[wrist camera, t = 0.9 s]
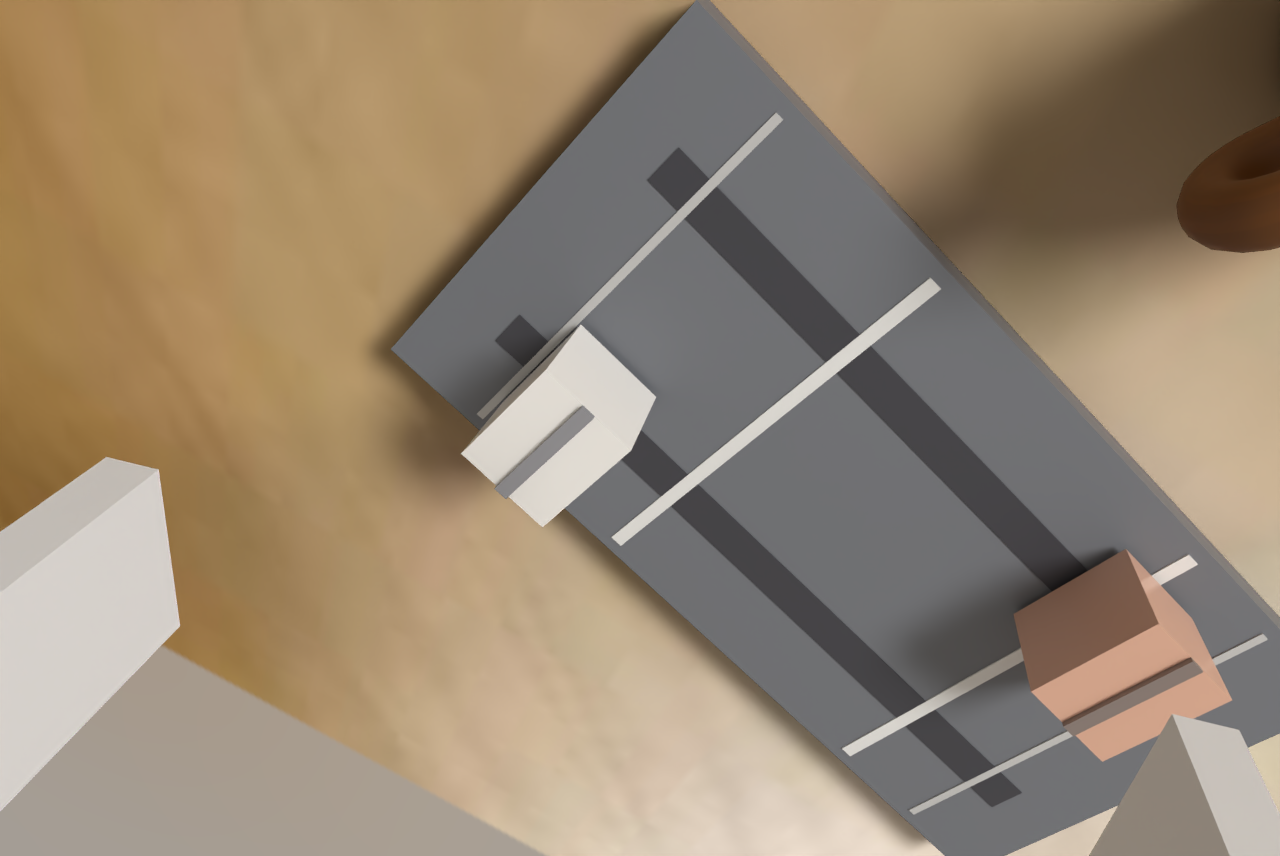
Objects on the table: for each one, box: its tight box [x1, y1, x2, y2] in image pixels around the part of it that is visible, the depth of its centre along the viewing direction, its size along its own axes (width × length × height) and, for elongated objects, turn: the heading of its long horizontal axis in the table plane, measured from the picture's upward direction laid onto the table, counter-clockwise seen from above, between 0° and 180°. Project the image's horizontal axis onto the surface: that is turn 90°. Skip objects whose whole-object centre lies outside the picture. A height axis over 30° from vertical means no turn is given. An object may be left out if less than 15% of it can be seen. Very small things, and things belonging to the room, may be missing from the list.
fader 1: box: [461, 325, 656, 527], centre depth 31 cm, size 4×4×4 cm
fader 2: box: [1014, 549, 1232, 762], centre depth 31 cm, size 4×4×4 cm
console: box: [391, 0, 1280, 856], centre depth 34 cm, size 32×16×2 cm, turn 46°
